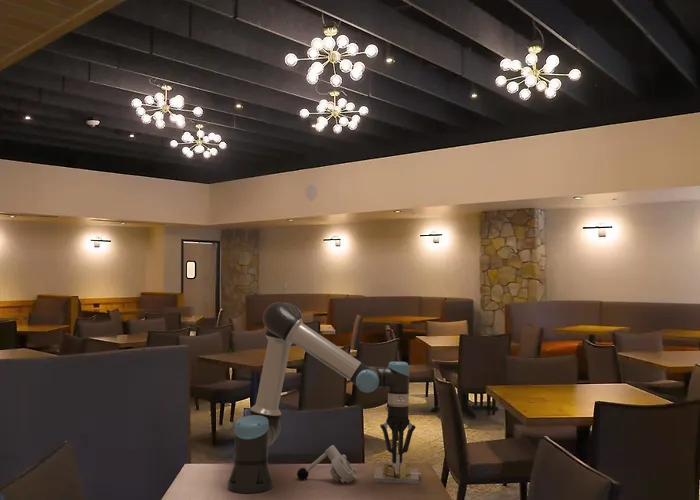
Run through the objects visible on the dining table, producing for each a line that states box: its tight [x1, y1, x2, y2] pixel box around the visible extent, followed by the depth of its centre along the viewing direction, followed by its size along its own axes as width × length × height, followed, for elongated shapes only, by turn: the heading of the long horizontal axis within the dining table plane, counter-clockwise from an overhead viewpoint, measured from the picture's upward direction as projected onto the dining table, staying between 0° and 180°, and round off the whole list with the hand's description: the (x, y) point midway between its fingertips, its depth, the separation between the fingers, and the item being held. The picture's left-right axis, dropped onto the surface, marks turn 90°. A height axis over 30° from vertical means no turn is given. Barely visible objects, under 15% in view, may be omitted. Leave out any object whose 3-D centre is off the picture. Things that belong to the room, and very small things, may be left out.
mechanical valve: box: [296, 444, 357, 484], centre depth 219 cm, size 10×18×15 cm
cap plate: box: [373, 457, 421, 485], centre depth 224 cm, size 17×16×6 cm
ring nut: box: [381, 460, 412, 479], centre depth 222 cm, size 14×10×5 cm
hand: (396, 472), depth 217 cm, fingers closed
